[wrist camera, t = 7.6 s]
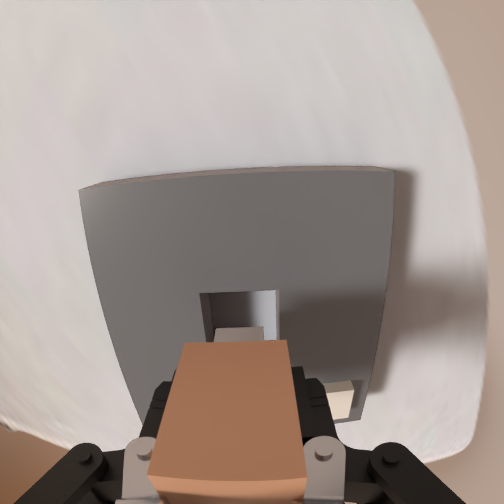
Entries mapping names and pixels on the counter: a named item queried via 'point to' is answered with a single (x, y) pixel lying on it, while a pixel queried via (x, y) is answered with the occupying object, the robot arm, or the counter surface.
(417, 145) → the counter surface
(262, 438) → the plug
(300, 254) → the socket board
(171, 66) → the counter surface
